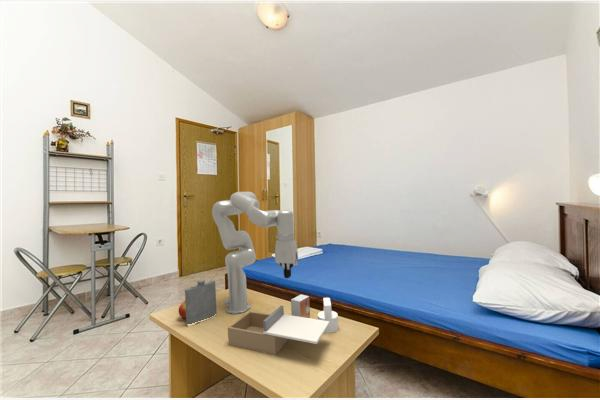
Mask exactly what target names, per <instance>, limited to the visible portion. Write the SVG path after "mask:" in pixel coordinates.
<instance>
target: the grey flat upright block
mask: <svg viewBox="0 0 600 400" xmlns="http://www.w3.org/2000/svg"><path fill="white" fill-rule="evenodd" d="M196 282H197V283H196V284H195V285H192V286H190V287H187V288H184V298H185V299H184V300H185V302H186V319H185V321H186V325H187V324H192V323H195V322H198V321H201V320H204V319H207V318H210V317H212V316H214V315H215V314H217V315H218V312H217V309H218V308H217V295H216V293H217V291H216V281H215V280H209V281H207V282H206V280H205V279H198V280H196ZM215 316H216V315H215ZM215 316H214V317H215ZM212 318H213V317H212ZM210 319H211V318H210Z"/></svg>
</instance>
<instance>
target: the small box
mask: <svg viewBox="0 0 600 400" xmlns="http://www.w3.org/2000/svg"><path fill="white" fill-rule="evenodd" d="M290 305H291V306H290V309H291V310H290V311H291V312H290V313H291V315H292V316H298V317H305V318H311V313H310V312H311V311H310V309H311V308H310V296H309V295H305V294H301V293H300V294H299V295H297V296H295V297H293V298H291V299H290Z"/></svg>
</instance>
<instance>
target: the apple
mask: <svg viewBox="0 0 600 400" xmlns="http://www.w3.org/2000/svg"><path fill="white" fill-rule="evenodd" d="M178 315H179V316H180V318H181V319H183V318H186V302H185V301H183V302H181V304H180V305H179V307H178Z"/></svg>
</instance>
